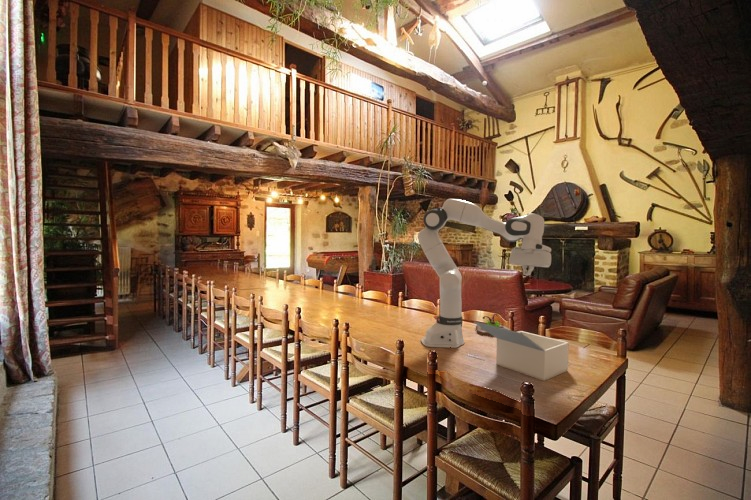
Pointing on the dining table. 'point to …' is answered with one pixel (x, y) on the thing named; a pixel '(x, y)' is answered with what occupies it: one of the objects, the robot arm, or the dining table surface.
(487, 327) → the carton flap
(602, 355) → the dining table surface
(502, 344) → the shipping carton
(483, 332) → the succulent planter
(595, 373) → the dining table surface
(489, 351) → the dining table surface
